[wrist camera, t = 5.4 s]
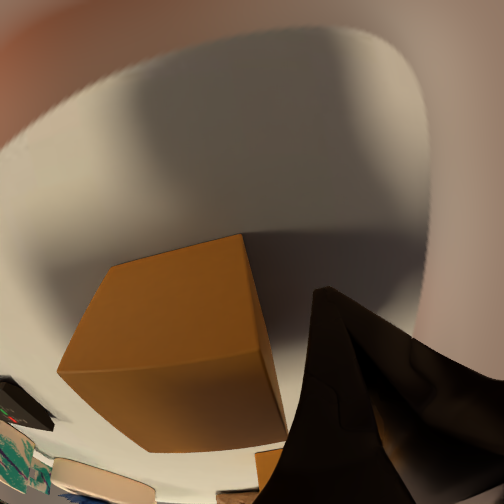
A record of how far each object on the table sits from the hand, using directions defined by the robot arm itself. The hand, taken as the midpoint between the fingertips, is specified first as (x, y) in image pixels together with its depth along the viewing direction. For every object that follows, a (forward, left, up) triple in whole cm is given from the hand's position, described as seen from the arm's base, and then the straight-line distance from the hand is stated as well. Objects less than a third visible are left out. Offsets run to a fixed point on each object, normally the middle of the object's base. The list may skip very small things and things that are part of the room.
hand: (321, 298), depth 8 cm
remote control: (+32, -4, -1) cm, 32 cm away
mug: (+41, +4, -1) cm, 42 cm away
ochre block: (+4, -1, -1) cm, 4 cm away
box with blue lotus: (+39, +19, -1) cm, 43 cm away
